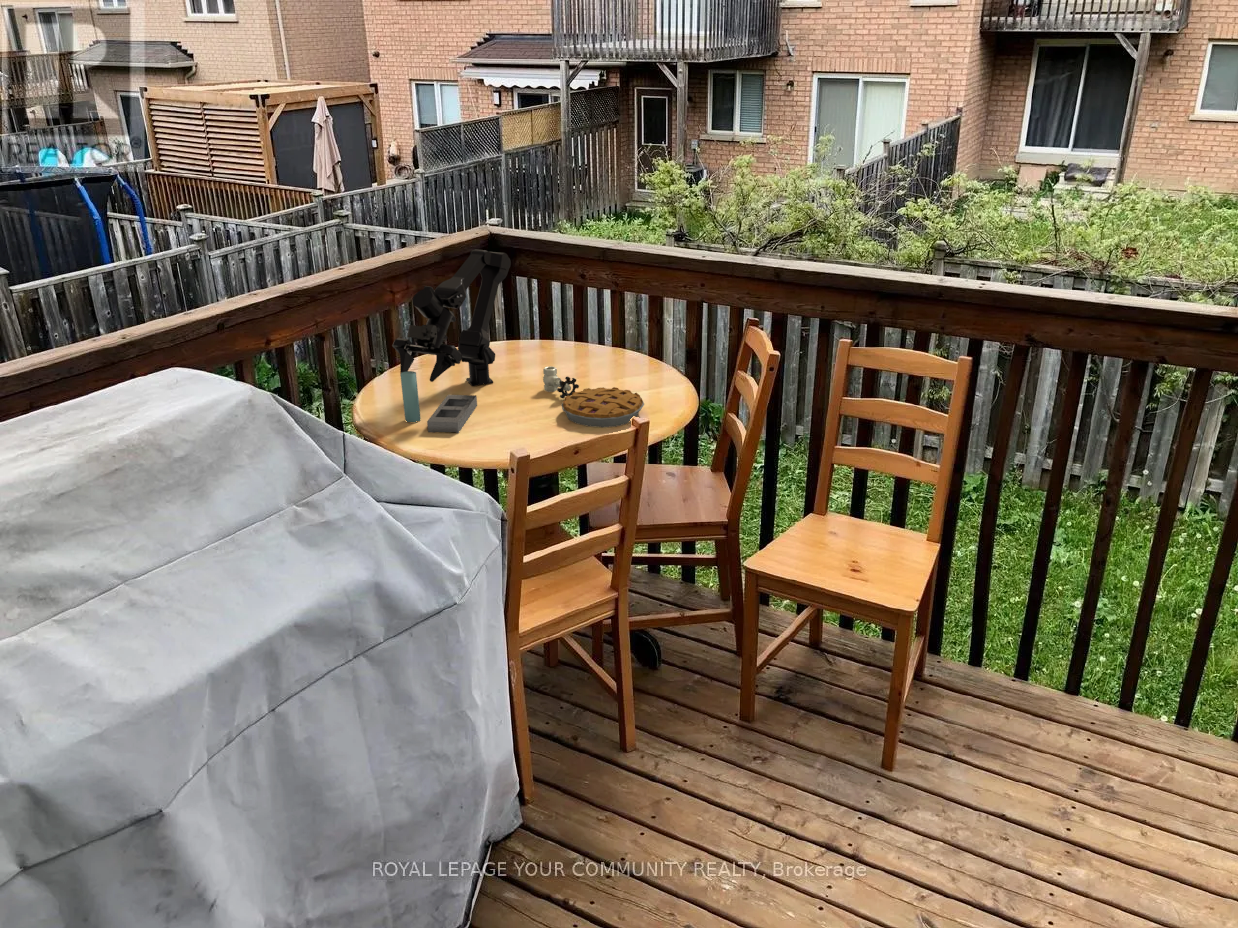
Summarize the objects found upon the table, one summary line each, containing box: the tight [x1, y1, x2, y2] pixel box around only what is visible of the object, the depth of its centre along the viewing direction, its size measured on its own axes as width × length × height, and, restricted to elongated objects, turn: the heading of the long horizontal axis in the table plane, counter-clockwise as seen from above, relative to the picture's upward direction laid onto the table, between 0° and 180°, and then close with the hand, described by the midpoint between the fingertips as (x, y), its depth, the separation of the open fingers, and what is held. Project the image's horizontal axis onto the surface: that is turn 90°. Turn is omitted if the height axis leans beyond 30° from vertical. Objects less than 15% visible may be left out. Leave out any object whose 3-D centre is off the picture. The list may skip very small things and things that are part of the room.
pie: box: [560, 386, 645, 428], centre depth 265 cm, size 22×22×5 cm
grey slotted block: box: [426, 394, 478, 434], centre depth 264 cm, size 20×8×3 cm, turn 174°
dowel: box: [400, 370, 422, 423], centre depth 261 cm, size 4×4×13 cm
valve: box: [542, 365, 580, 399], centre depth 280 cm, size 7×7×12 cm
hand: (416, 379), depth 262 cm, fingers open, 9 cm apart
